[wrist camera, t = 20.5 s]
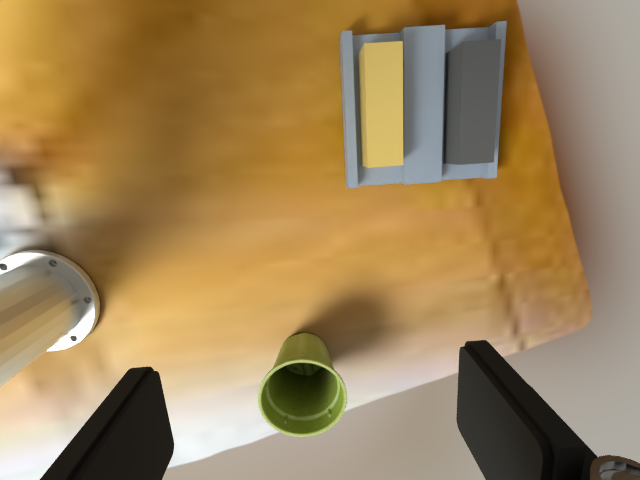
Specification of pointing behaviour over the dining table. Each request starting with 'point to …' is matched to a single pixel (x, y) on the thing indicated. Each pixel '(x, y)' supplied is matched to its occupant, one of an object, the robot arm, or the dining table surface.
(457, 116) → the dark gray block
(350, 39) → the slot rack
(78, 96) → the dining table surface
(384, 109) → the butter stick
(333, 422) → the plant pot
